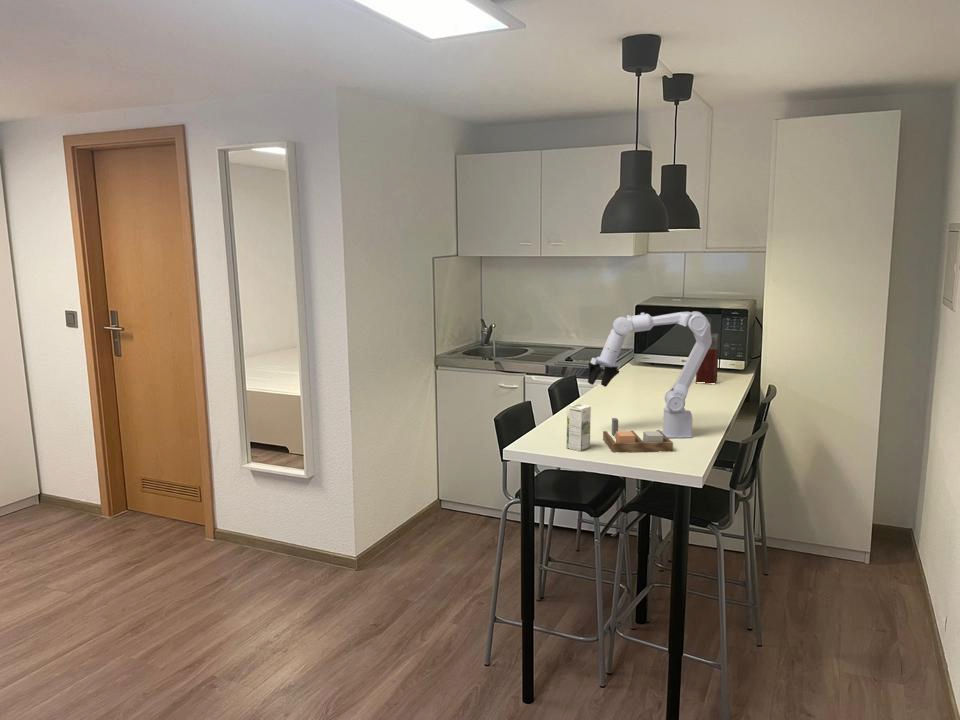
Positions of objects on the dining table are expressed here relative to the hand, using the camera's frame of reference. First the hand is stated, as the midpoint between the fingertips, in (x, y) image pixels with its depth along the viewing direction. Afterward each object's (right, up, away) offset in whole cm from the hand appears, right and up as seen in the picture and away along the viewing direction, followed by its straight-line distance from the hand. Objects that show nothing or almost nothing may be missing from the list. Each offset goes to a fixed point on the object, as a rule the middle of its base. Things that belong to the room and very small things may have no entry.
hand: (596, 384), depth 259 cm
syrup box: (-9, -21, -17) cm, 28 cm away
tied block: (+6, -19, -10) cm, 23 cm away
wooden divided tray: (+11, -20, -14) cm, 27 cm away
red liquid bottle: (+67, -2, +94) cm, 115 cm away
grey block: (+16, -20, -17) cm, 31 cm away
